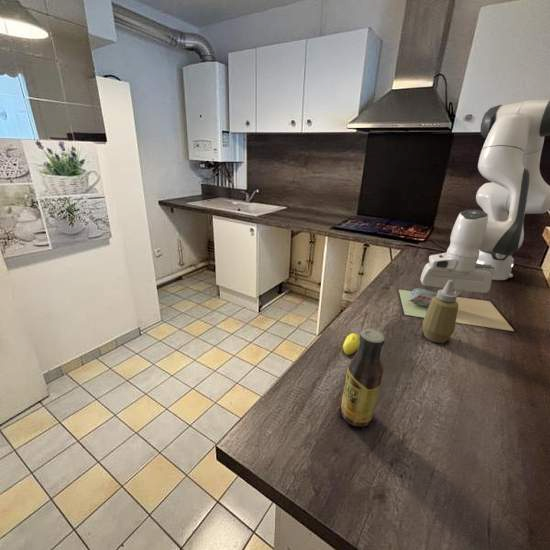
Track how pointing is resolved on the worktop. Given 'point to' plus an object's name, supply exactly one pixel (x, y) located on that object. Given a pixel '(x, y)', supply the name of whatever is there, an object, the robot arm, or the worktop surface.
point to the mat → (462, 312)
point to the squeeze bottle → (441, 315)
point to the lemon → (351, 343)
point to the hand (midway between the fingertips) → (449, 299)
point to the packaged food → (421, 296)
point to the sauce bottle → (363, 380)
